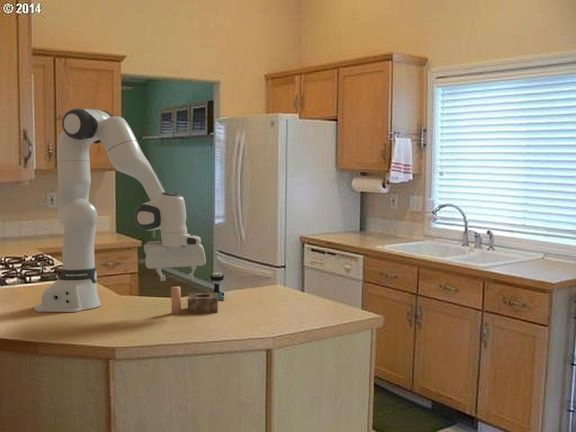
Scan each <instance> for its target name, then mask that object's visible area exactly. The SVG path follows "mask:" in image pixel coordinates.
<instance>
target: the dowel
mask: <svg viewBox="0 0 576 432" xmlns="http://www.w3.org/2000/svg"><path fill="white" fill-rule="evenodd" d="M170 294H171V295H170V298H171V300H170V301H171V304H170V305H171V314H172V315H180V313H181V314H182V299H181V298H182V296H181V295H182V293H181V286H171V287H170Z"/></svg>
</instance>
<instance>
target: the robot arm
mask: <svg viewBox="0 0 576 432" xmlns="http://www.w3.org/2000/svg"><path fill="white" fill-rule="evenodd" d="M61 123H62V124H61V125H62V130H63V131H62V132H61V133H60V134H59V135H58V138H57V139H58V140H57V148H56V160H57V178H58V190H57V211H56V212H57V219H58V221H59V223H60V224H61V225H62V226H63V228H64V229H63V240H62V246H61V250H62V251H61V254H62V255H61V256H62V267H61V268H59V270H57V272H56V276H57V280H56V281H55V282H53V283H51V285H49V286H48V287H47V288H46V289H44V290H43V293H42V295H41V301H40V303H38V304H37V305H35V306H34V311H35V312H38V313H39V312H45V313H48V312H51V313H59V312H60V313H64V312H65V313H76V312H77V313H78V312H81V311H85V310H90V309H91V310H92V309H94V308H97V307H98V308H99V307H100V306H101V305H102V304H101V301H100V300H101V299H100V297H99V293H98V287H97V280H98V274H97V273H98V272H97V267H96V264H95V258H96V257H95V242H96V241H95V239H96V232H97V221H98V211H97V209H96V207H95V206H94V205H93V203H91V202H89V201H90V199H89V198H90V189H91V183H92V177H91V160H90V158H91V157H90V147H91V146H92V144H93V143H94V144H95V145H96V144H99V143H100V144H101V143H102V144H103V147H104V149H105V152H106V154H107V156H108V159H109V161H110V164H111V165H112V166H113V167H114V169H115V170H117V172H120V173H122V174H125V175H127V176H130V177H132V178H134V179H136V180H137V181H138V182H139V183H140V185H142V187H143V188H144V190H145V193H146V194H147V196H148V198H149V201H147V202H143V203H142V204H140V205H138V206H137V207H136V208H135V210H134V214H133V218H134V222H135V224H136V226H137V227H138V228H139V229H141V230H142V231H147V232H151V231H158V230H160V236H161V237H160V238H161V240H149V241H148V242H146V243H145V244H144V245H143V252H144V254H145V267H146V268H147V269H149V270H150V269H151V270H152V269H156V273H157V274H158V276H159V277H160V282H166V274H163V273H162V269H164V268H166V269H167V268H183V267H184V268H185V267H186V268H187V267H190V268H191V270H192V271H191V272H190V273H188V275H187V276H188V280H193V279H194V273H195V271H196V270H197V267H199V266H200V267H201V266H205V264H206V263H207V259H206V252H205V249H204V246H203V244H202V238H201V236H198V235H193V234H190V233H188V227H187V224H186V223H187V222H186V221H187V210H186V209H187V208H186V202H185V198H184V196H183V195H182V194H180V193H178V192H172V191H171V192H169V191H166V188H165V187H164V185H163V184H162V181H161V179H160V177H159V176H158V174H157V173H156V170H155V169H154V167H153V165H152V164H151V162H150V161H149V160H148V159H147V158H146V156H145V155H144V152H143V151H142V149H141V146H140V144H139V142H138V140H137V138H136V136H135V133H134V132H133V130H132V128H131V127H130V125H129V123H128V121H126V120H125V118H123V117H122V116H117V115H116V116H114V115H113V114H112V113H111V112H108V111H105V110H100V109H94V108H74V109H70V110H69V111H67V112H66V113H65V114H64V115H63V118H62V122H61Z"/></svg>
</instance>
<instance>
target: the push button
mask: <svg viewBox="0 0 576 432" xmlns="http://www.w3.org/2000/svg"><path fill="white" fill-rule="evenodd" d="M211 274H212V275H209V278H210V281H211V282H212V292H211V293H218V301H222V300H223V301H224V300H226V297H227V296H226V295H225V292H223V291H222V288H223V287H222V286H223V285H222V284H223V283H222V281H224V277H225V275H224V274H223V273H222V272H212V273H211Z"/></svg>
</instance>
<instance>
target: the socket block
mask: <svg viewBox="0 0 576 432" xmlns="http://www.w3.org/2000/svg"><path fill="white" fill-rule="evenodd" d="M218 309H219V300H218V293H212V292H200V293H199V292H195V293H194V292H193V293H189V294H188V297H187V314H188V313H189V314H209V313H210V314H212V313H213V314H214V313H215V314H216V313H218Z"/></svg>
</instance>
